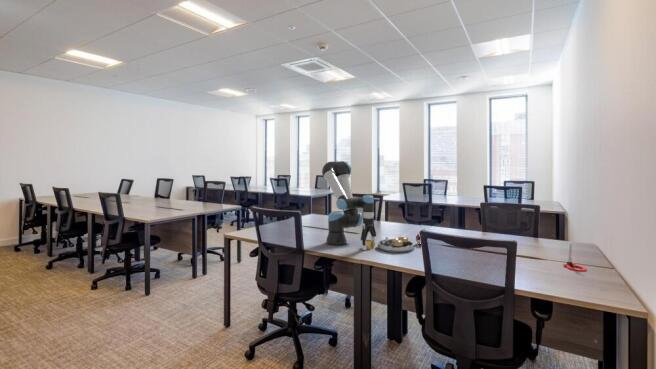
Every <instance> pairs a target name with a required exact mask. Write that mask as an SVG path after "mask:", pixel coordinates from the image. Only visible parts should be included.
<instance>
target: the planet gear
mask: <svg viewBox="0 0 656 369" xmlns="http://www.w3.org/2000/svg"><path fill="white" fill-rule="evenodd" d="M366 246H367V250H373V249H374V248H375V246H374V241H373V240H371V239H366Z"/></svg>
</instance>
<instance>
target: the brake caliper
mask: <svg viewBox="0 0 656 369" xmlns="http://www.w3.org/2000/svg"><path fill="white" fill-rule="evenodd" d="M422 230H426V229H425V228H424V229H422ZM420 238H421V236H419V233H418V234H417V235H416V236H415V240H416V242H417V243H416V246H417V247H420Z"/></svg>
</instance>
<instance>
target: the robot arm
mask: <svg viewBox="0 0 656 369" xmlns="http://www.w3.org/2000/svg"><path fill="white" fill-rule="evenodd" d="M351 174H352V166H351V164H350V163H349V162H348V161H342V160H341V161H327V162H326V163H325V164H324V165H323V167H322V170H321V175H322V177H323V179H324V180H326V181H327V184H328V185H329V188H330V190H331V191H332V192H333V195H334V197H335V199H336V204H335V205H336V208H337V210H336V211H333V212H329V213H328V215H327V222H328V223H327V225H328V229H327V230H328V234H327V236H326V240H325V241H326V242H325V243H326V245H328V246H343V245H347V243H348V240H347V237H346V235H345V229H349V228H356V227H357V228H358V227H360V226H361V225H362V224H364V225H362V230H361V235H360V241H362V242H361V243H362V246H361V247H362V249H361V250H363V251H367V250H368V249H367V246H366V240H367V237H368V235H369V233H370V235H371V236H370V240H373V241H374V247H375V246H376V239H375V238H376V237H377V231H376V227H375V219H374V216H375V212H374V211H375V210H374V209H375V208H374V207H375V206H374V205H375V200H374V196H373V195H369V194H368V195H363V196H362V197H361V196H356V197H353V193H352V192H353V191H352V188H351V183H350V177H351V176H350V175H351ZM359 209H362V212H361V211H359Z"/></svg>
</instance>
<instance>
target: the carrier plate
mask: <svg viewBox="0 0 656 369" xmlns="http://www.w3.org/2000/svg"><path fill="white" fill-rule="evenodd" d="M377 248H378V250H380V251H382V252H385V253H391V254H403V253H404V254H406V253H411V252H413V251H414V250H415V243H414V242H413V241H411V240H409V237H407V236H399V237H397V238H395V237H394V238H389V237H388V236H385V239H382V240H379V241H378V242H377Z"/></svg>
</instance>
